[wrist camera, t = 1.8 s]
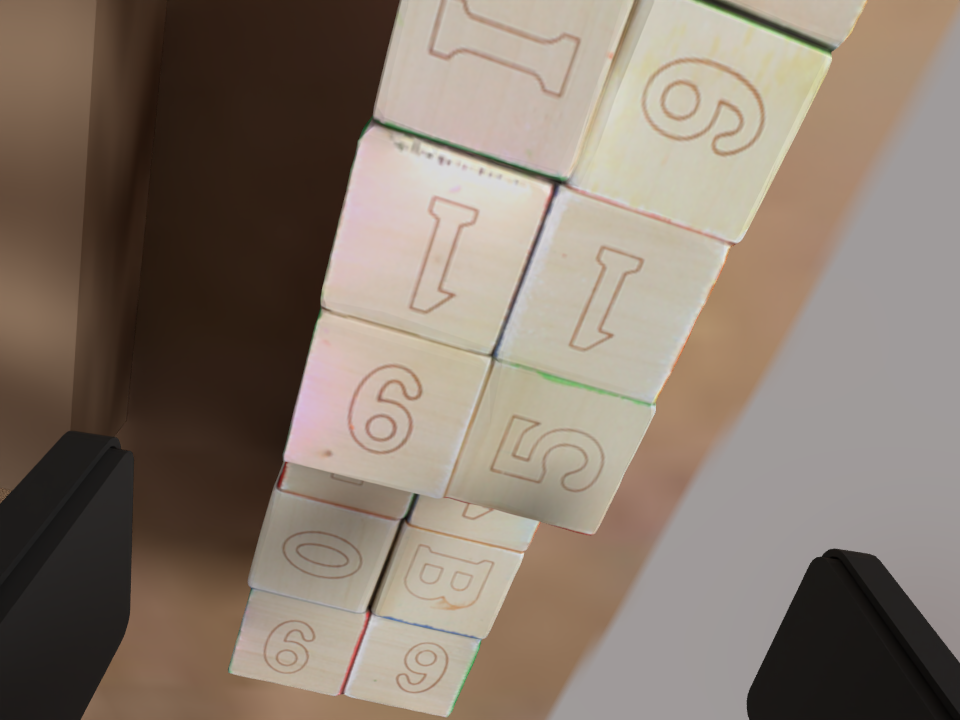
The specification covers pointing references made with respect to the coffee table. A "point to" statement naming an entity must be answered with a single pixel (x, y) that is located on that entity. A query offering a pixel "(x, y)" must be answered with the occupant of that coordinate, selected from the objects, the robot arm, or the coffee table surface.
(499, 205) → the stack of blocks
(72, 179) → the walnut block
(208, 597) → the coffee table surface
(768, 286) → the coffee table surface
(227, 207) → the coffee table surface
